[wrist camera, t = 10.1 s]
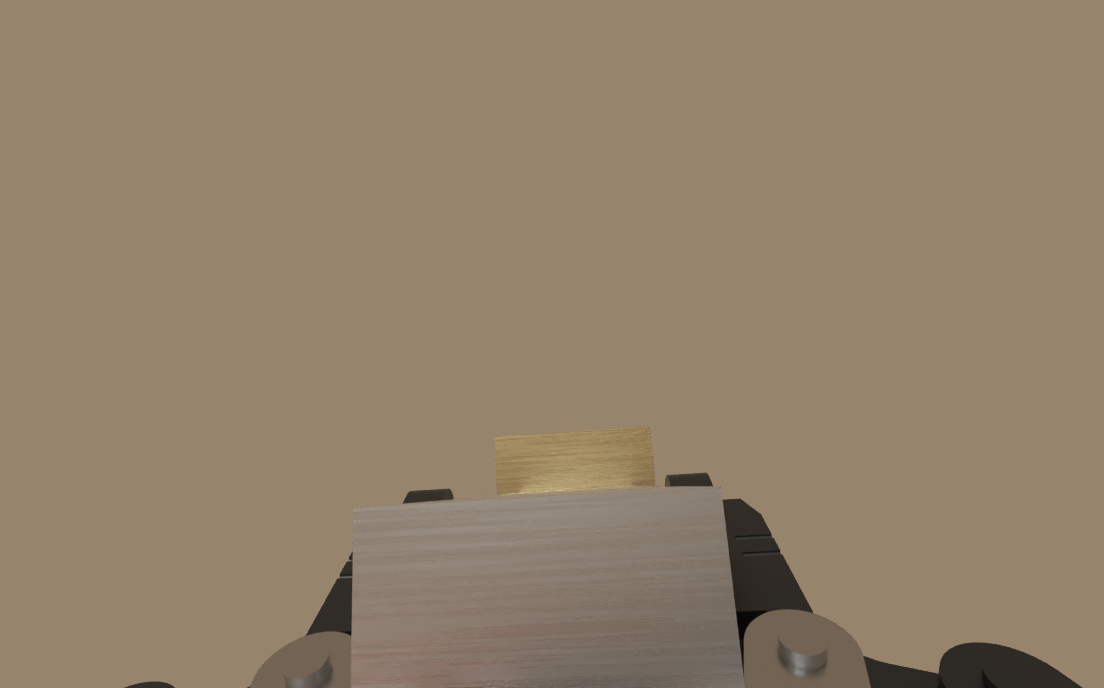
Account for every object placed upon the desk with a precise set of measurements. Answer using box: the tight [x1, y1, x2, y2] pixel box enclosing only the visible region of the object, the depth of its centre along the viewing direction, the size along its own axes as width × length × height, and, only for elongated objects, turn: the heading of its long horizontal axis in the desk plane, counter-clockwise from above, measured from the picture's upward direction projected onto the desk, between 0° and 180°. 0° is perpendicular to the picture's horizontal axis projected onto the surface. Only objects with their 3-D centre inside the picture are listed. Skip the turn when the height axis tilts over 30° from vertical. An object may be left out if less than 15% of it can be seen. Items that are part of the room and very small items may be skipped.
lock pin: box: [351, 427, 745, 688], centre depth 15 cm, size 6×18×6 cm, turn 176°
